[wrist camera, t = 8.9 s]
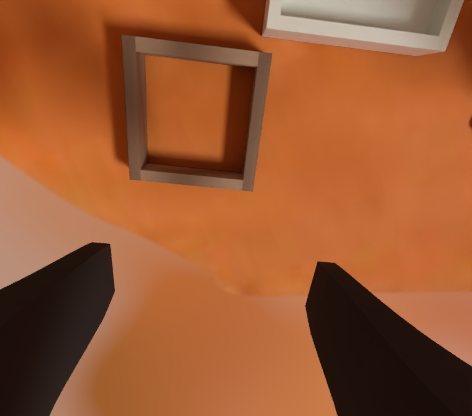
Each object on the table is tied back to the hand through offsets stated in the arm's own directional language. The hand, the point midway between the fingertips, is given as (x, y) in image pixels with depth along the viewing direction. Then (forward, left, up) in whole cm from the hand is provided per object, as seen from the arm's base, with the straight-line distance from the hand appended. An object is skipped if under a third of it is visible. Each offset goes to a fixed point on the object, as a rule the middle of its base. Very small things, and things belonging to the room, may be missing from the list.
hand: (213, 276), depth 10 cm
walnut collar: (+2, -4, -10) cm, 11 cm away
